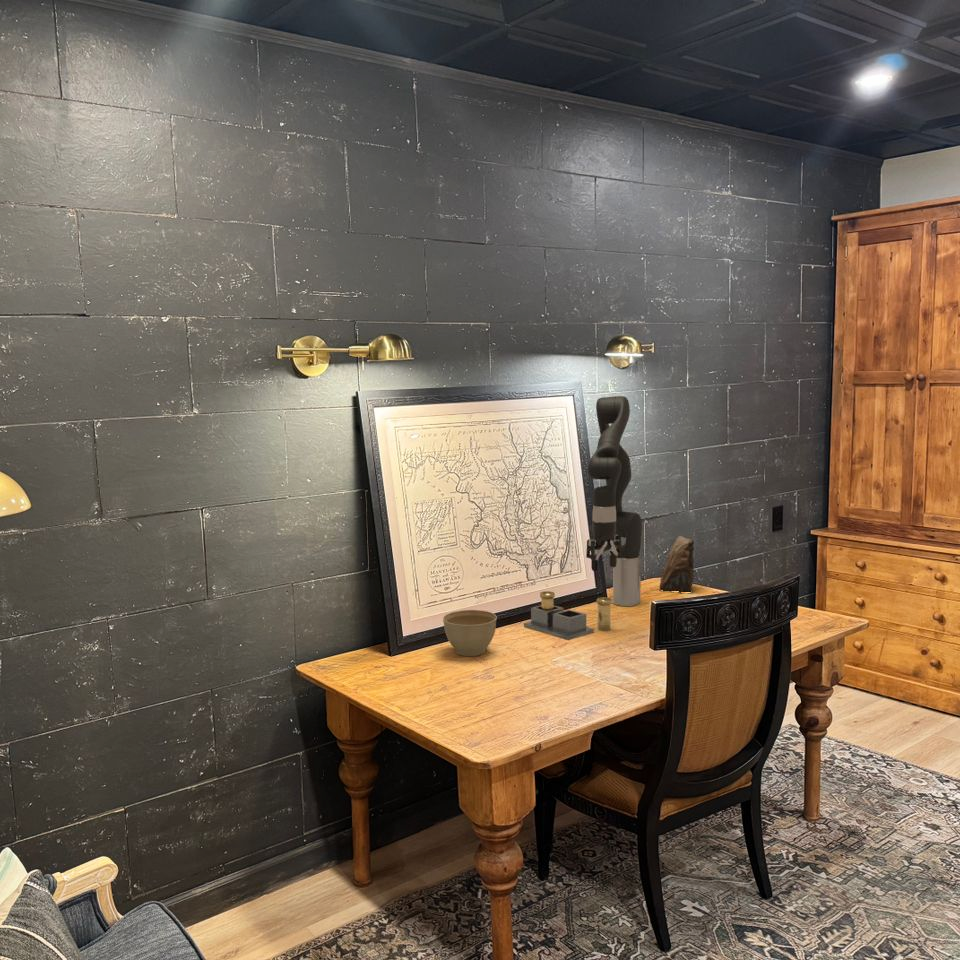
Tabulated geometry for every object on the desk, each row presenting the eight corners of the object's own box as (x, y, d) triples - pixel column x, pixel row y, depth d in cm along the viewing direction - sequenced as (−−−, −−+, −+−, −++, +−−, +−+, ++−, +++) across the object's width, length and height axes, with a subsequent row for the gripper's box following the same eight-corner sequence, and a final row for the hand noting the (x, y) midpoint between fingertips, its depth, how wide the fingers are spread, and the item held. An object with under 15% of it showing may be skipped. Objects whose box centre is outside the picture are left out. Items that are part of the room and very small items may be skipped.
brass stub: (603, 626, 299) (603, 596, 298) (614, 629, 295) (614, 599, 294) (593, 629, 296) (593, 599, 294) (604, 632, 292) (604, 602, 291)
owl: (674, 584, 354) (675, 533, 351) (704, 589, 345) (705, 537, 343) (657, 590, 345) (658, 538, 342) (687, 596, 336) (688, 542, 334)
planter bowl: (438, 646, 280) (437, 612, 278) (488, 641, 284) (488, 607, 282) (450, 662, 264) (449, 626, 263) (503, 657, 268) (503, 621, 267)
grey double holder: (549, 619, 307) (549, 587, 306) (593, 632, 292) (593, 598, 291) (523, 626, 299) (523, 593, 298) (568, 639, 284) (568, 605, 283)
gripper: (610, 515, 298) (609, 563, 300) (580, 520, 289) (580, 570, 291) (627, 518, 293) (627, 567, 295) (598, 523, 284) (597, 574, 286)
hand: (604, 568), depth 293 cm, fingers open, 8 cm apart
